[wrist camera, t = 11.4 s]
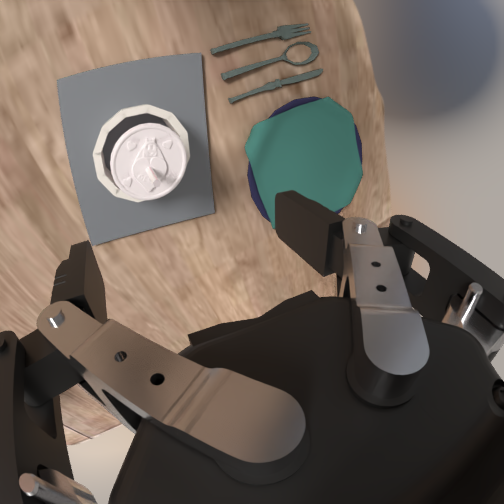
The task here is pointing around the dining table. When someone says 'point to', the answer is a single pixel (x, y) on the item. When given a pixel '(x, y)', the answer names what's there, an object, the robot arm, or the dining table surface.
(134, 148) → the smoothie
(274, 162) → the cutlery set
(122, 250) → the dining table surface
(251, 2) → the dining table surface
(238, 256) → the dining table surface
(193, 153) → the sleeve stand
